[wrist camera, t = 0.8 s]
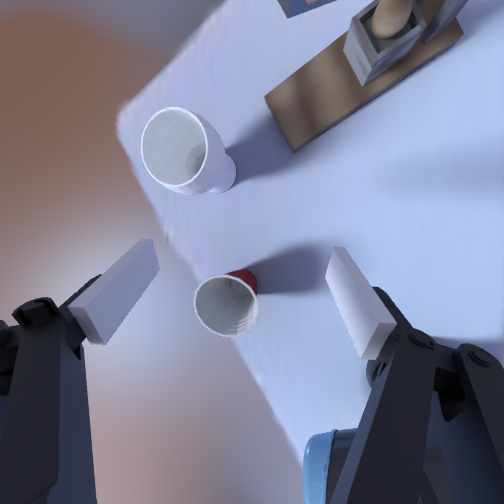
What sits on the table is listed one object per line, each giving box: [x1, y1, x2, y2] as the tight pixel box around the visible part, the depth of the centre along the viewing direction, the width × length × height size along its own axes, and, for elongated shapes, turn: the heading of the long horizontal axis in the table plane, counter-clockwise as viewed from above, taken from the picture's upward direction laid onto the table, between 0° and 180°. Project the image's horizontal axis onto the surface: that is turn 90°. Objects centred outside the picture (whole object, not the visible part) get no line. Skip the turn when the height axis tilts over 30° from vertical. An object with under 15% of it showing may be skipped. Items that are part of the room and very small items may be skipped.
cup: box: [141, 107, 236, 195], centre depth 33 cm, size 11×11×15 cm
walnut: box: [372, 0, 412, 39], centre depth 24 cm, size 4×4×4 cm
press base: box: [264, 0, 468, 153], centre depth 26 cm, size 26×10×15 cm, turn 121°
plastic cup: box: [193, 270, 260, 337], centre depth 37 cm, size 11×11×12 cm
